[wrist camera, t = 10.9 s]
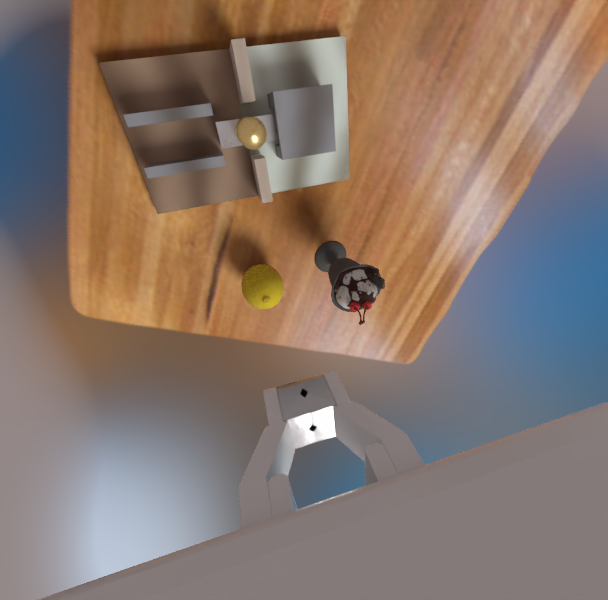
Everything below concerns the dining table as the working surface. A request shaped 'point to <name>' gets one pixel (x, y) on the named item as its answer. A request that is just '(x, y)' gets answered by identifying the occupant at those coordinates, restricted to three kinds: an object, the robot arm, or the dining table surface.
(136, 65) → the lock board
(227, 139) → the bolt
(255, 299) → the lemon
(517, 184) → the dining table surface
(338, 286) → the sundae
